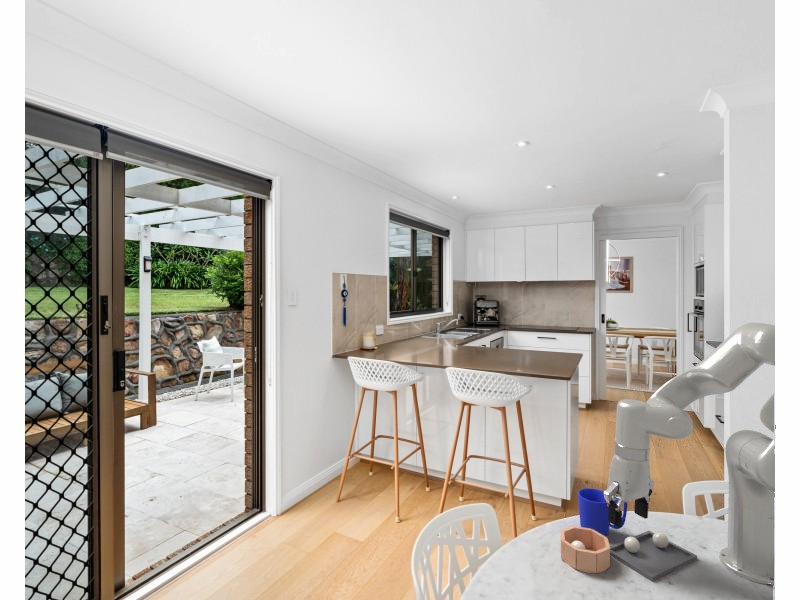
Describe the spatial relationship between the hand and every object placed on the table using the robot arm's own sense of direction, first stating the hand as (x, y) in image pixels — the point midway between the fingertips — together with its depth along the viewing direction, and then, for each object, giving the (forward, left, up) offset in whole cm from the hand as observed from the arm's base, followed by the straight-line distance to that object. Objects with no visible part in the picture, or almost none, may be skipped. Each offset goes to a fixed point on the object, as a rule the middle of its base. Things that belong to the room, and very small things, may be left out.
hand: (628, 520), depth 107 cm
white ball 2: (-1, +1, -8) cm, 8 cm away
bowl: (+12, -3, -8) cm, 15 cm away
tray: (-3, +4, -8) cm, 9 cm away
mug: (-2, -9, -8) cm, 12 cm away
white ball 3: (-9, +3, -8) cm, 12 cm away
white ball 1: (+13, -4, -8) cm, 15 cm away
